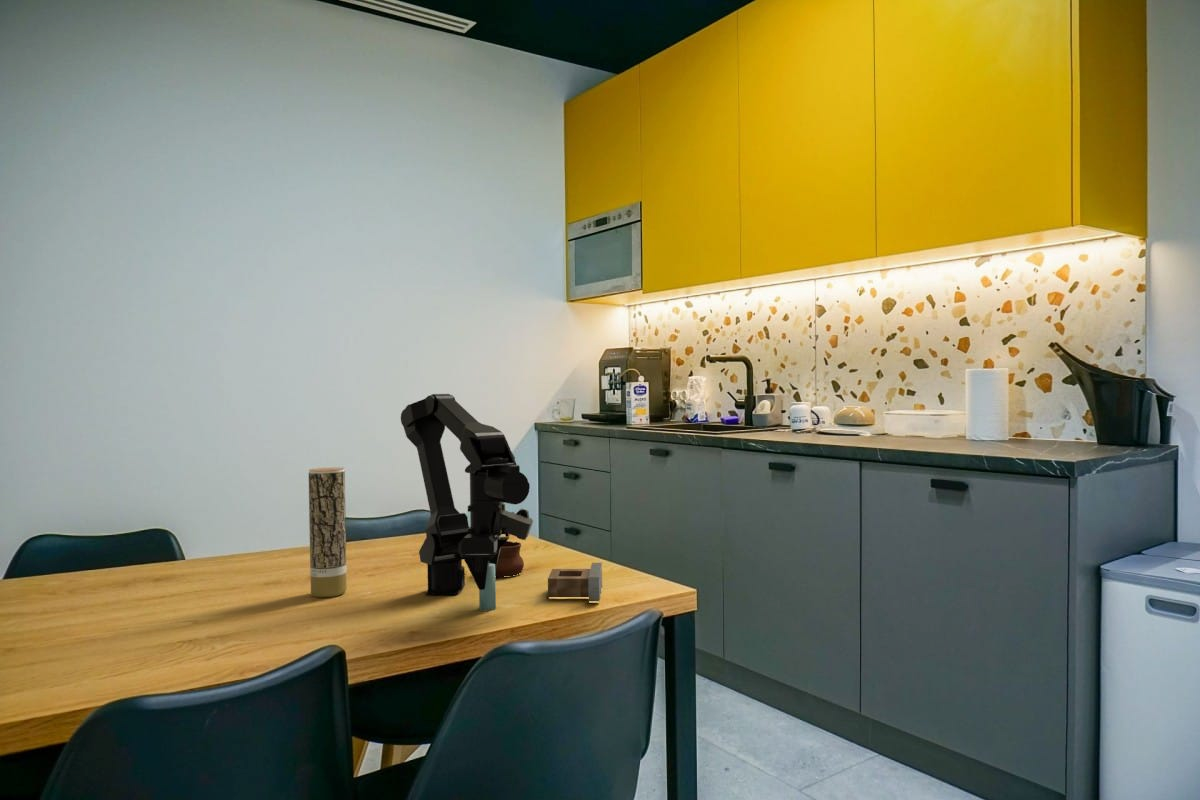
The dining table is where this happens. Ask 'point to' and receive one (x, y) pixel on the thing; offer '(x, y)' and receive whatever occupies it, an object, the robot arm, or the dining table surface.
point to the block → (568, 583)
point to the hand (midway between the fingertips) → (487, 582)
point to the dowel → (488, 591)
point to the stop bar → (595, 582)
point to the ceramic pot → (509, 560)
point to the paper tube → (327, 531)
